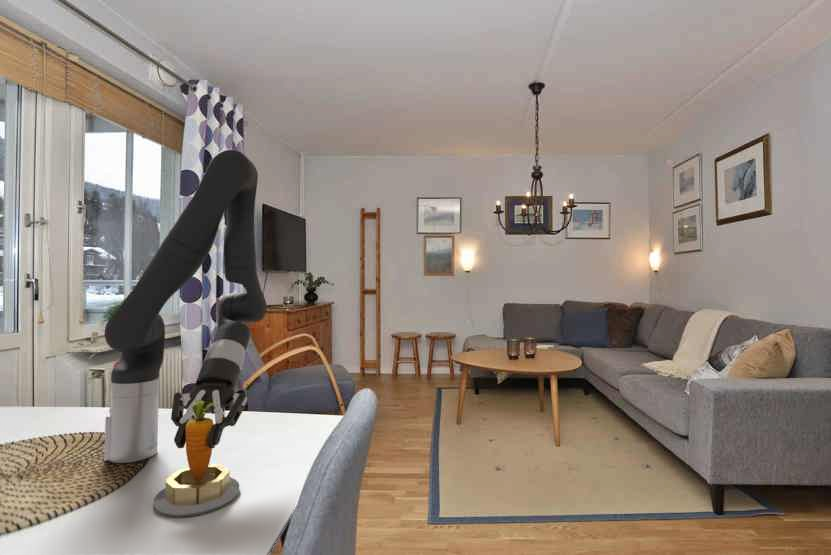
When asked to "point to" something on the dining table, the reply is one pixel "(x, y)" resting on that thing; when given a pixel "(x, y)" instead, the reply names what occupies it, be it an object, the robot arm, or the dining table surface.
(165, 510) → the hub socket
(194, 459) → the carrot
